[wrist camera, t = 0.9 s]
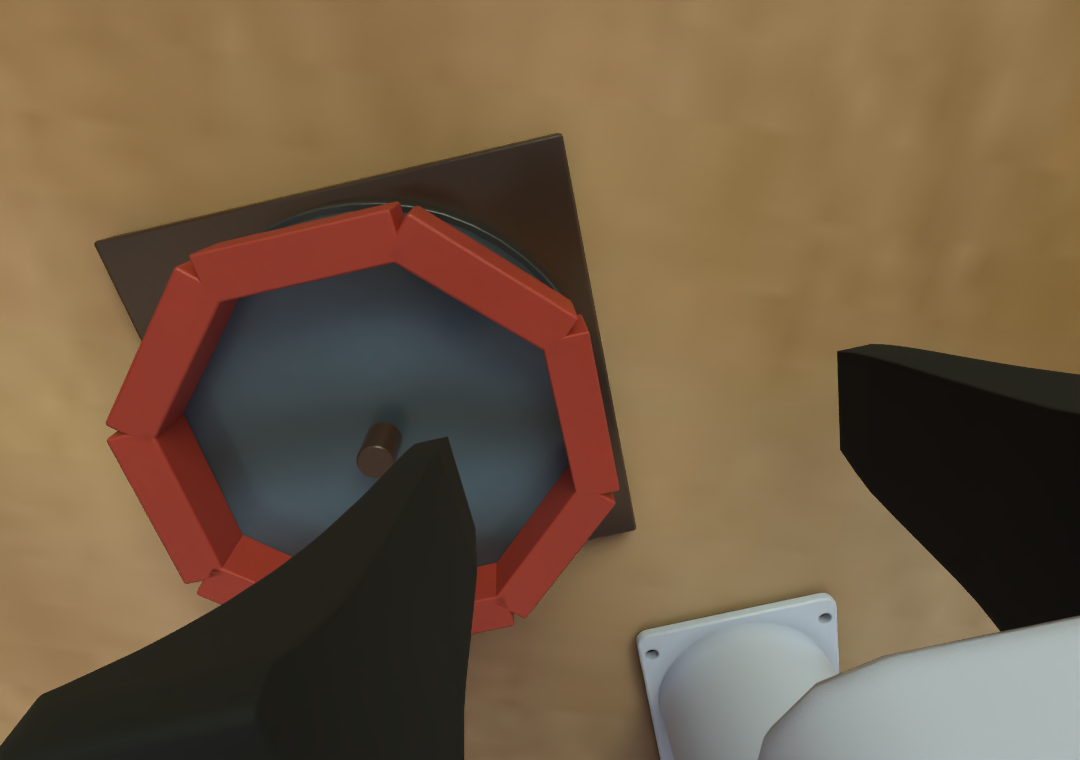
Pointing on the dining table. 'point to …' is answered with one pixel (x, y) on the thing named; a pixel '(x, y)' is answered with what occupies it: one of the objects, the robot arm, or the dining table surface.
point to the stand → (384, 354)
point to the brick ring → (322, 252)
